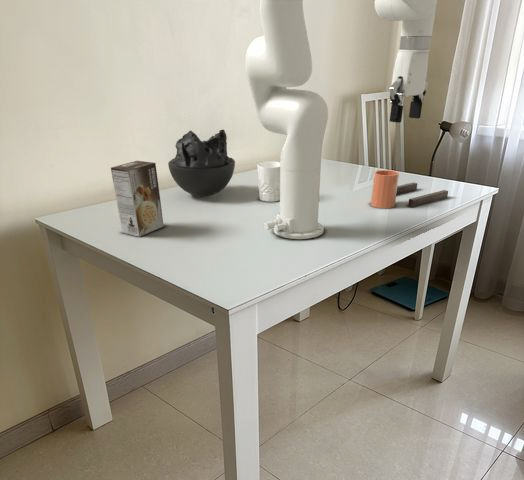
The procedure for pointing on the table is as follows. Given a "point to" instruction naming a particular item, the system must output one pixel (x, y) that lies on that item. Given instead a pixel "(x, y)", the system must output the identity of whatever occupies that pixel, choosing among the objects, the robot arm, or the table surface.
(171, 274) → the table surface
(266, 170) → the white cup
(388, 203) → the peach cup
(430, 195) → the guide rails
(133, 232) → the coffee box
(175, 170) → the bowl of black rocks
